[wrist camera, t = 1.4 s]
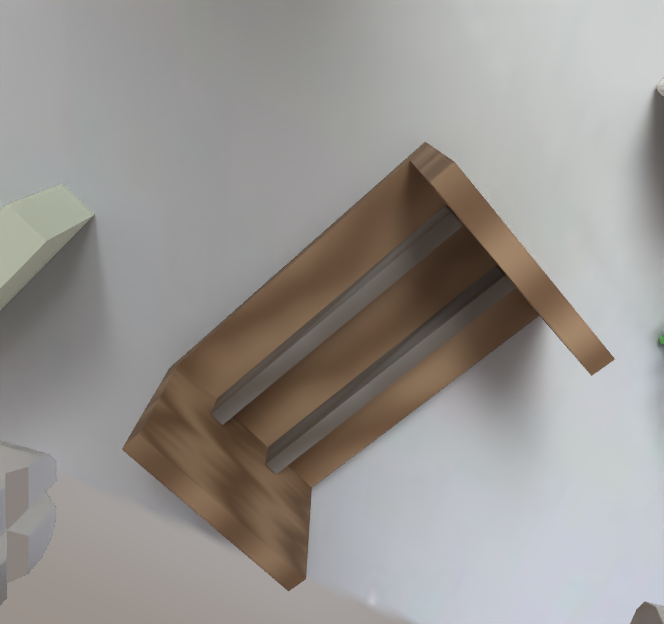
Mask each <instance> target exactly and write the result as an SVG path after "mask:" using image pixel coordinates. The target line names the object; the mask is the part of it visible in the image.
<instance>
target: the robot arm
mask: <svg viewBox="0 0 664 624" xmlns="http://www.w3.org/2000/svg"><path fill="white" fill-rule="evenodd" d="M56 481H57V477H56V460H55V459H54V458H53V457H52V456H51V455H50V454H47V453H43V452H40V451H36V450H32V449H29V448H25V447H21V446H18V445H14V444H10V443H7V442H3V441H0V605H1V604H2V603H3V602H4V601H5V600H6V599H7V583H8V582H11V581H13V580H15V579H17V578H20V577H22V576H24V575H27V574H29V572H30V571H31V570H32V569H33V567H34V566H35V565H36V564H37V563H38V562H39V561H40V559H41V558H42V556H43V554H44V552H45V550H46V548H47V546H48V544H49V542H50V540H51V538H52V534H53V530H54V526H55V522H56V506H55V505H54V503H53V501H52V500H51V498H50V496H49V495H48V493H47V492H46V491H47V490H48V489H49V488H50V487H51V486H52V485H53V484H54V483H55V482H56ZM630 624H664V606H661V605H657V604H653V603H649V602H644V603H643V604H642V605H641V606H640V607H639V608H638V609H637V610H636V612H635V614H634V616H633V619H632V621H631V623H630Z"/></svg>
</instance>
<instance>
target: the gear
mask: <svg viewBox="0 0 664 624" xmlns="http://www.w3.org/2000/svg"><path fill="white" fill-rule="evenodd" d="M659 340H660V342H661V344H663V345H664V335H663V336H661V337H660V338H659Z"/></svg>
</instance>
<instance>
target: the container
mask: <svg viewBox="0 0 664 624" xmlns="http://www.w3.org/2000/svg"><path fill="white" fill-rule="evenodd" d="M657 91H658V92H659V93H660V94H661V95H662V96H663V97H664V78H663V79H662V80H661V81H660V82H659V84H658V85H657Z"/></svg>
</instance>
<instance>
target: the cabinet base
mask: <svg viewBox="0 0 664 624" xmlns="http://www.w3.org/2000/svg"><path fill="white" fill-rule="evenodd" d="M539 315H540V317H541V318H542V319H543V320H544V321H545V322H546V324H547V325H548V326H549V327H550V328H551V329H552V330H553V332H554V333H555V334H556V335H557V336H558V337H559V339H560V340H561V341H562V342H563V343H564V344H565V345H566V347H567V348H568V349H569V350H570V351H571V352H572V354H573V355H574V356H575V357H576V358H577V359H578V361H579V362H580V363H581V364H582V365H583V366H584V367H585V369H586V370H587V371H588V372H589V373H590V374H591V376H592V375H593V374H595V373H596V372H598V371H599V370H600V369H602V368H603V367H605V366H606V365H607V364H609V363H610V362H612V361H613V360H614V357H613V356H612V355H611V354H610V352H609V351H608V350H607V349H606V348H605V346H604V345H603V344H602V343H601V341H600V340H599V339H598V338H597V336H596V335H595V334H594V333H593V332H592V330H591V329H590V328H589V327H588V325H587V324H586V323H585V322H584V320H583V319H582V318H581V317H580V316H579V314H578V313H577V312H576V311H575V309H574V308H573V307H572V306H571V304H570V303H569V302H568V301H567V300H566V298H565V297H564V296H563V295H562V293H561V292H560V291H559V290H558V288H557V287H556V286H555V285H554V284H553V282H552V281H551V280H550V279H549V277H548V276H547V275H546V274H545V272H544V271H543V270H542V269H541V268H540V266H539V265H538V264H537V263H536V261H535V260H534V259H533V258H532V257H531V255H530V254H529V253H528V252H527V250H526V249H525V248H524V247H523V245H522V244H521V243H520V242H519V241H518V239H517V238H516V237H515V236H514V234H513V233H512V232H511V231H510V229H509V228H508V227H507V226H506V225H505V223H504V222H503V221H502V220H501V218H500V217H499V216H498V215H497V213H496V212H495V211H494V210H493V209H492V207H491V206H490V205H489V204H488V202H487V201H486V200H485V199H484V197H483V196H482V195H481V194H480V193H479V191H478V190H477V189H476V188H475V186H474V185H473V184H472V183H471V181H470V180H469V179H468V178H467V177H466V175H465V174H464V173H463V172H462V170H461V169H460V168H459V167H458V165H457V164H456V163H455V162H454V161H452V160H451V159H449V158H448V157H447V156H445V155H444V154H442V153H441V152H439V151H438V150H436V149H435V148H433V147H432V146H430V145H429V144H428V143H426V142H425V143H424V144H422V145H421V146H420V147H419V148H418V149H417V150H416V151H415V152H413V153H412V154H411V155H410V156H409V157H408V158H407V159H405V160H404V161H403V162H402V163H401V164H400V165H399V166H398V167H396V168H395V169H394V170H393V171H392V172H391V173H390V174H389V175H387V176H386V177H385V178H384V179H383V180H382V181H381V182H380V183H378V184H377V185H376V186H375V187H374V188H373V189H372V190H370V191H369V192H368V193H367V194H366V195H365V196H364V197H363V198H361V199H360V200H359V201H358V202H357V203H356V204H355V205H354V206H352V207H351V208H350V209H349V210H348V211H347V212H346V213H344V214H343V215H342V216H341V217H340V218H339V219H338V220H337V221H335V222H334V223H333V224H332V225H331V226H330V227H329V228H328V229H326V230H325V231H324V232H323V233H322V234H321V235H320V236H319V237H317V238H316V239H315V240H314V241H313V242H312V243H311V244H309V245H308V246H307V247H306V248H305V249H304V250H303V251H302V252H300V253H299V254H298V255H297V256H296V257H295V258H294V259H293V260H291V261H290V262H289V263H288V264H287V265H286V266H285V267H283V268H282V269H281V270H280V271H279V272H278V273H277V274H276V275H274V276H273V277H272V278H271V279H270V280H269V281H268V282H267V283H265V284H264V285H263V286H262V287H261V288H260V289H259V290H258V291H256V292H255V293H254V294H253V295H252V296H251V297H250V298H248V299H247V300H246V301H245V302H244V303H243V304H242V305H241V306H239V307H238V308H237V309H236V310H235V311H234V312H233V313H232V314H230V315H229V316H228V317H227V318H226V319H225V320H224V321H223V322H221V323H220V324H219V325H218V326H217V327H216V328H215V329H213V330H212V331H211V332H210V333H209V334H208V335H207V336H206V337H204V338H203V339H202V340H201V341H200V342H199V343H198V344H197V345H195V346H194V347H193V348H192V349H191V350H190V351H189V352H187V353H186V354H185V355H184V356H183V357H182V358H181V359H180V360H178V361H177V362H176V363H175V364H174V365H173V366H172V367H171V368H169V370H168V372H167V373H166V375H165V377H164V379H163V380H162V382H161V384H160V385H159V387H158V389H157V390H156V392H155V394H154V396H153V397H152V399H151V401H150V402H149V404H148V406H147V408H146V409H145V411H144V413H143V414H142V416H141V418H140V419H139V421H138V423H137V425H136V426H135V428H134V430H133V431H132V433H131V435H130V436H129V438H128V440H127V442H126V443H125V445H124V447H123V448H122V450H123V451H124V452H126V453H127V454H128V455H129V456H130V457H132V458H133V459H134V460H135V461H136V462H137V463H139V464H140V465H141V466H142V467H143V468H144V469H146V470H147V471H148V472H149V473H150V474H152V475H153V476H154V477H155V478H156V479H157V480H159V481H160V482H161V483H162V484H163V485H164V486H166V487H167V488H168V489H169V490H170V491H171V492H173V493H174V494H175V495H176V496H177V497H179V498H180V499H181V500H182V501H183V502H184V503H186V504H187V505H188V506H189V507H190V508H191V509H193V510H194V511H195V512H196V513H197V514H198V515H200V516H201V517H202V518H203V519H204V520H206V521H207V522H208V523H209V524H210V525H211V526H213V527H214V528H215V529H216V530H217V531H218V532H220V533H221V534H222V535H223V536H224V537H225V538H227V539H228V540H229V541H230V542H231V543H233V544H234V545H235V546H236V547H237V548H238V549H240V550H241V551H242V552H243V553H244V554H245V555H247V556H248V557H249V558H250V559H251V560H253V561H254V562H255V563H256V564H257V565H258V566H260V567H261V568H262V569H263V570H264V571H265V572H267V573H268V574H269V575H270V576H272V578H274V579H275V580H276V581H277V582H278V583H280V584H281V585H282V586H283V587H284V588H285V589H287V590H288V591H290V590H291V589H292V588H294V587H295V586H297V585H298V584H299V583H301V582H302V581H304V580H305V579H306V569H307V554H308V538H309V522H310V506H311V491H312V487H313V486H315V485H316V484H317V483H319V482H320V481H321V480H323V479H324V478H325V477H326V476H328V475H329V474H330V473H332V472H333V471H334V470H336V469H337V468H338V467H340V466H341V465H342V464H344V463H345V462H346V461H348V460H349V459H350V458H352V457H353V456H354V455H356V454H357V453H358V452H360V451H361V450H362V449H363V448H365V447H366V446H367V445H369V444H370V443H371V442H373V441H374V440H375V439H377V438H378V437H379V436H381V435H382V434H383V433H385V432H386V431H387V430H389V429H390V428H391V427H393V426H394V425H395V424H397V423H398V422H399V421H400V420H402V419H403V418H404V417H406V416H407V415H408V414H410V413H411V412H412V411H414V410H415V409H416V408H418V407H419V406H420V405H422V404H423V403H424V402H426V401H427V400H428V399H430V398H431V397H432V396H434V395H435V394H436V393H437V392H439V391H440V390H441V389H443V388H444V387H445V386H447V385H448V384H449V383H451V382H452V381H453V380H455V379H456V378H457V377H459V376H460V375H461V374H463V373H464V372H465V371H467V370H468V369H469V368H471V367H472V366H473V365H474V364H476V363H477V362H478V361H480V360H481V359H482V358H484V357H485V356H486V355H488V354H489V353H490V352H492V351H493V350H494V349H496V348H497V347H498V346H500V345H501V344H502V343H504V342H505V341H506V340H508V339H509V338H510V337H511V336H513V335H514V334H515V333H517V332H518V331H519V330H521V329H522V328H523V327H525V326H526V325H527V324H529V323H530V322H531V321H533V320H534V319H535V318H537V317H538V316H539Z"/></svg>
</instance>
